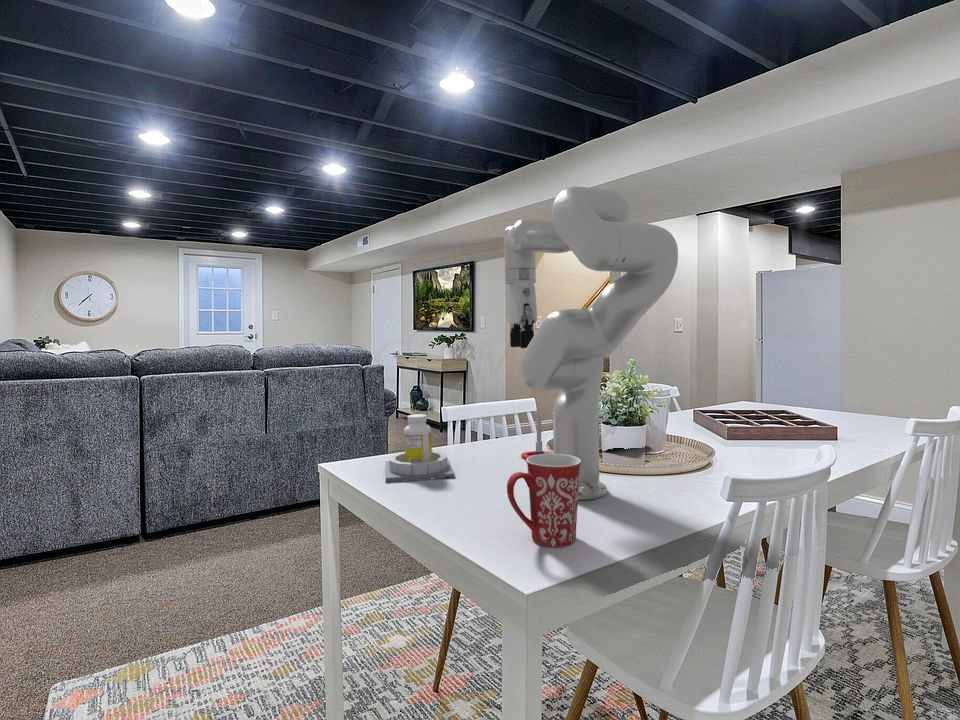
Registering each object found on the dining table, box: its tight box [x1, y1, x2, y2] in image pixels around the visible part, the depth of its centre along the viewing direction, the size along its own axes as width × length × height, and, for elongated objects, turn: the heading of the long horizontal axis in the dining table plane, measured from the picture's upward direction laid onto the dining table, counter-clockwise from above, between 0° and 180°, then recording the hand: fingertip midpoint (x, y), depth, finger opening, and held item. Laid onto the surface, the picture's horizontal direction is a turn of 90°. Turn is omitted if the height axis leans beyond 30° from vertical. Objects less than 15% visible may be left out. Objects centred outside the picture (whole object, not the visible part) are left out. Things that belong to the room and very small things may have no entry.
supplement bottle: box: [403, 413, 433, 463], centre depth 138 cm, size 7×7×13 cm
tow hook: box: [520, 411, 553, 460], centre depth 149 cm, size 8×13×9 cm
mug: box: [506, 453, 581, 548], centre depth 92 cm, size 13×9×14 cm
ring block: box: [384, 450, 456, 482], centre depth 138 cm, size 16×16×4 cm
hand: (521, 347), depth 137 cm, fingers open, 9 cm apart
